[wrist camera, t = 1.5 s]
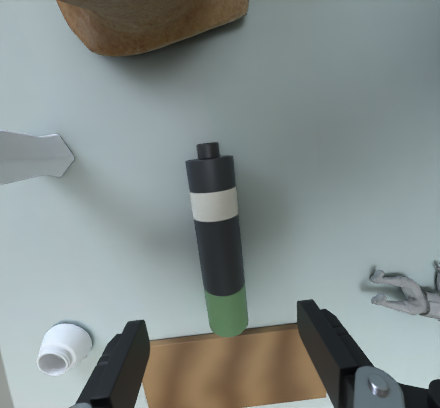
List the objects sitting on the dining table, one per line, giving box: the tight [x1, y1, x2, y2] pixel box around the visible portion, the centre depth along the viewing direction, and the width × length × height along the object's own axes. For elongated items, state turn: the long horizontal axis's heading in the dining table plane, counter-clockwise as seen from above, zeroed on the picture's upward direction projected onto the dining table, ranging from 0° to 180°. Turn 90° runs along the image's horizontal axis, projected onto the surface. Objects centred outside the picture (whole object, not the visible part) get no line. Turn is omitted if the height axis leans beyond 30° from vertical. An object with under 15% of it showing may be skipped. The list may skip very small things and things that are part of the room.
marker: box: [186, 142, 248, 337], centre depth 20 cm, size 18×4×4 cm, turn 6°
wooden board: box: [142, 323, 326, 408], centre depth 25 cm, size 22×11×1 cm, turn 96°
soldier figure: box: [370, 263, 440, 321], centre depth 22 cm, size 8×5×12 cm
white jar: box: [37, 323, 92, 376], centre depth 23 cm, size 5×3×5 cm
